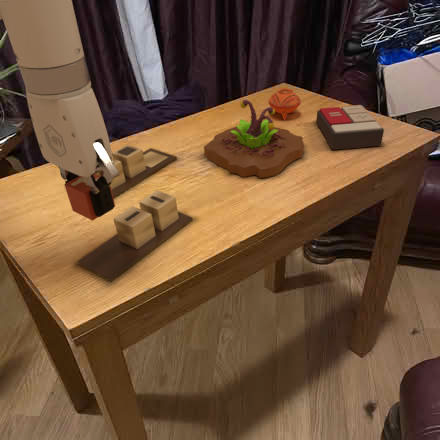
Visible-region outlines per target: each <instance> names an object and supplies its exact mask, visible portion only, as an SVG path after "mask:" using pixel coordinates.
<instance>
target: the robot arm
mask: <svg viewBox="0 0 440 440" xmlns="http://www.w3.org/2000/svg"><path fill="white" fill-rule="evenodd" d="M76 17H77V16H76V13H75V9H74V4H73V0H0V21H3V23H4V24H3V25H4V27H5V29H6V33H7V36H8V39H9V42H10V45H11V47H12V51H13V54H14V56H15V59H16V60H15V61H16V62H17V65H18V68H19V71H20V75H21V77H22V81H23V83H24V86H25V94H26V101H27V107H28V111H29V115H30V119H31V122H32V126H33V130H34V133H35V137H36V139H37V142H38V146H39V149H40V152H41V154H42V157H43V159H44V160H45V161H47V162H48V163H50V164H51V165H54V166H55V167H58V169H59V173H60V177H61V178H62V180H64V184H66V183H67V182H69V181H71V180H73V179H75V178H77V177H79V176H81V177H86V179H87V181H88V183H89V186H90V188H91V190H92V191H91V192H90V193H89V194H90V198H91V201H92V205H93V208H94V212H95V215H96V216H98V218H102V217H103V216H104V215H106V214H108V213H109V212H110V211H112V210H113V209H114V208H115V207H114V203H115V201H114V202H113V199H114V198H112V194H111V190H110V186H111V185H112V182H113V180H115V179H116V178H117V177H119V176H120V174H119V171H118V170H117V168H116V167H115V165H114V163H113V162H112V161H113V157H112V146H111V141H110V139H109V134H108V130H107V128H106V124H105V121H104V116H103V114H102V111H101V109H100V106H99V105H100V104H99V103H98V100H97V98H96V95H95V92H94V89H93V88H92V82H91V78H90V72H89V69H88V64H87V60H86V56H85V52H84V48H83V44H82V38H81V35H80V31H79V26H78V22H77V18H76ZM96 163H97V165H96ZM97 172H99V173H100V176H101V177H99V178H98V180H97V181H96V180H95V178H94V174H95V173H97Z"/></svg>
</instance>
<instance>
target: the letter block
mask: <svg viewBox="0 0 440 440" xmlns="http://www.w3.org/2000/svg"><path fill="white" fill-rule="evenodd" d="M99 177H101V176H99V175H96V174H94V178H95V180H96V181H97V180H98V178H99ZM63 185H64V188H65V192H66V194H67V198H68V200H69V204H70V207H71V211H72V212H74V213H76V214H78V215H79V216H81V217H84V218H86V219H87V220H90V221H94V220H96V219H98V218H99V217H98V216H96V215H95V212H94V208H93V205H92V201H91V198H90V194H89V193H90V192H91V191H92V190H91V188H90V186H89V183H88V181H87V179H86V177H81V176H79V177H77V178H75V179H73V180H71V181H69V182H67V183H66V184H65V183H64V184H63ZM110 190H111V186H110ZM111 194H112V190H111ZM112 198H113V195H112ZM113 202H114V208H116V203H115V198H113Z"/></svg>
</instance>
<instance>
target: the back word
mask: <svg viewBox="0 0 440 440" xmlns="http://www.w3.org/2000/svg"><path fill="white" fill-rule="evenodd" d="M112 159H113V161H112V162H113V163H114V165H115V167H116V168H117V170H118V171H119V174H120V176H119V177H117V178H116V179H115V180H113V182H112V185H111V190H112V195H113V199H115V198H117V197H118V196H120V195H121V194H123V193H125V192H126V191H128V190H130V189H131V188H133V187H134V186H136V185H138V184H139V183H141V182H143V181H144V180H146V179H147V178H149V177H151V176H152V175H154V174H155V173H157V172H159V171H160V170H162V169H163V168H165V167H167V166H168V165H170V164H171V163H173V162H175V161H176V160H178V158H177V156H175V155H173V154H170V153H168V152H167V153H166V152H163V151H160V150H157V149H154V148H151V147H149V149H146V150H145V151H144V149H143V148H140V147H137V146H133V145H130V144H125V145H124V146H122V147H120V148H118V149H116V150H114V151H113V152H112ZM96 165H97V163H96ZM95 174H96V175H99V176H100V173H99V172H97V173H95Z"/></svg>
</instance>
